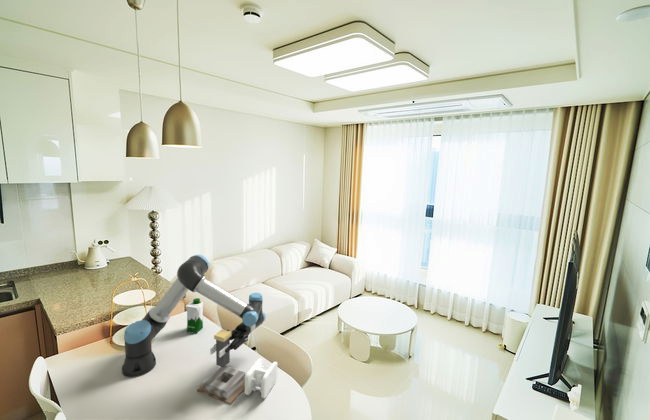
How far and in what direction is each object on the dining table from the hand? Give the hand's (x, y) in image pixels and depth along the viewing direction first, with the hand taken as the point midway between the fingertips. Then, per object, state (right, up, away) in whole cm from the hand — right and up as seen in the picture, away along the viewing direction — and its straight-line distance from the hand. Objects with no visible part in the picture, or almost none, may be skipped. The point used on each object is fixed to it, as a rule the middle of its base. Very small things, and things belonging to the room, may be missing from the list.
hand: (215, 353), depth 138 cm
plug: (+1, -8, +6) cm, 10 cm away
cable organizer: (+20, -21, +7) cm, 30 cm away
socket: (+2, -20, +7) cm, 21 cm away
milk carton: (-33, -11, +53) cm, 64 cm away
